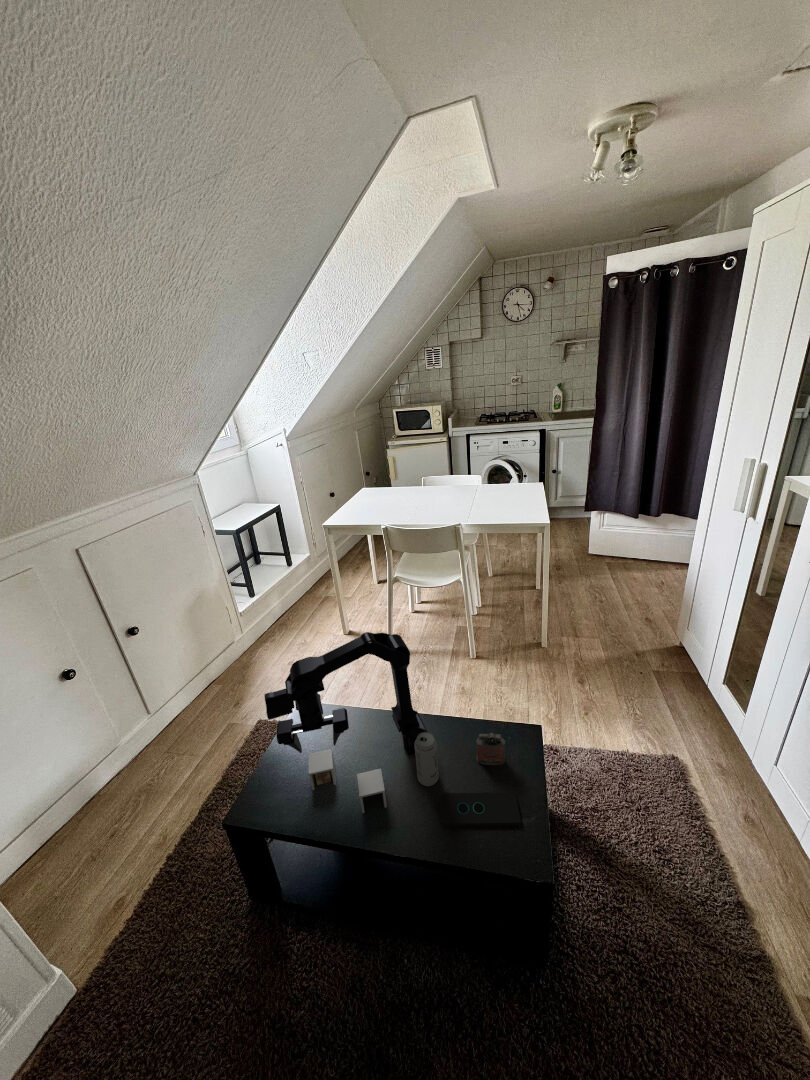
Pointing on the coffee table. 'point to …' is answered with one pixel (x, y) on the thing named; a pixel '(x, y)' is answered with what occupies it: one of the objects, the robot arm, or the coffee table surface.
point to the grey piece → (321, 765)
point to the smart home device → (479, 809)
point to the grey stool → (370, 785)
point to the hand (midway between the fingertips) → (318, 747)
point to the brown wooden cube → (323, 777)
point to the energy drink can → (426, 759)
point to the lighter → (490, 749)
